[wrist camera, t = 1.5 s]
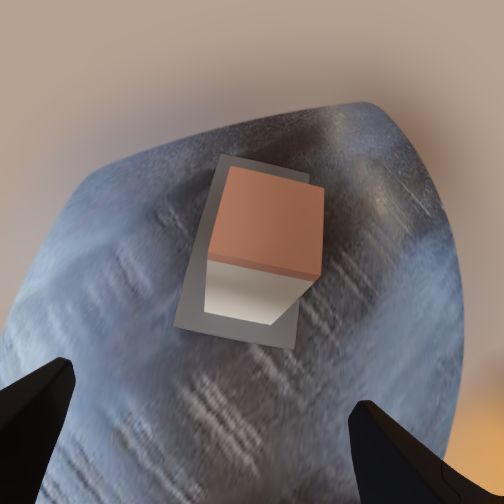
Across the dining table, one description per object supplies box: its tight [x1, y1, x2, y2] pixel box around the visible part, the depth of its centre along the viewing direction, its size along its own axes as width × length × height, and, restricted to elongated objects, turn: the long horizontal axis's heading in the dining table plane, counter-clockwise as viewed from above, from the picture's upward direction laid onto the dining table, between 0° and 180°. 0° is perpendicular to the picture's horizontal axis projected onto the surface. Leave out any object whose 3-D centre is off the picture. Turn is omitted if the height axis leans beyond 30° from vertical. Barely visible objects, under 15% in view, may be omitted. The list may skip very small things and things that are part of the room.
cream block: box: [204, 166, 324, 325], centre depth 18 cm, size 5×5×10 cm
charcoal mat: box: [173, 154, 309, 350], centre depth 25 cm, size 17×9×1 cm, turn 171°
